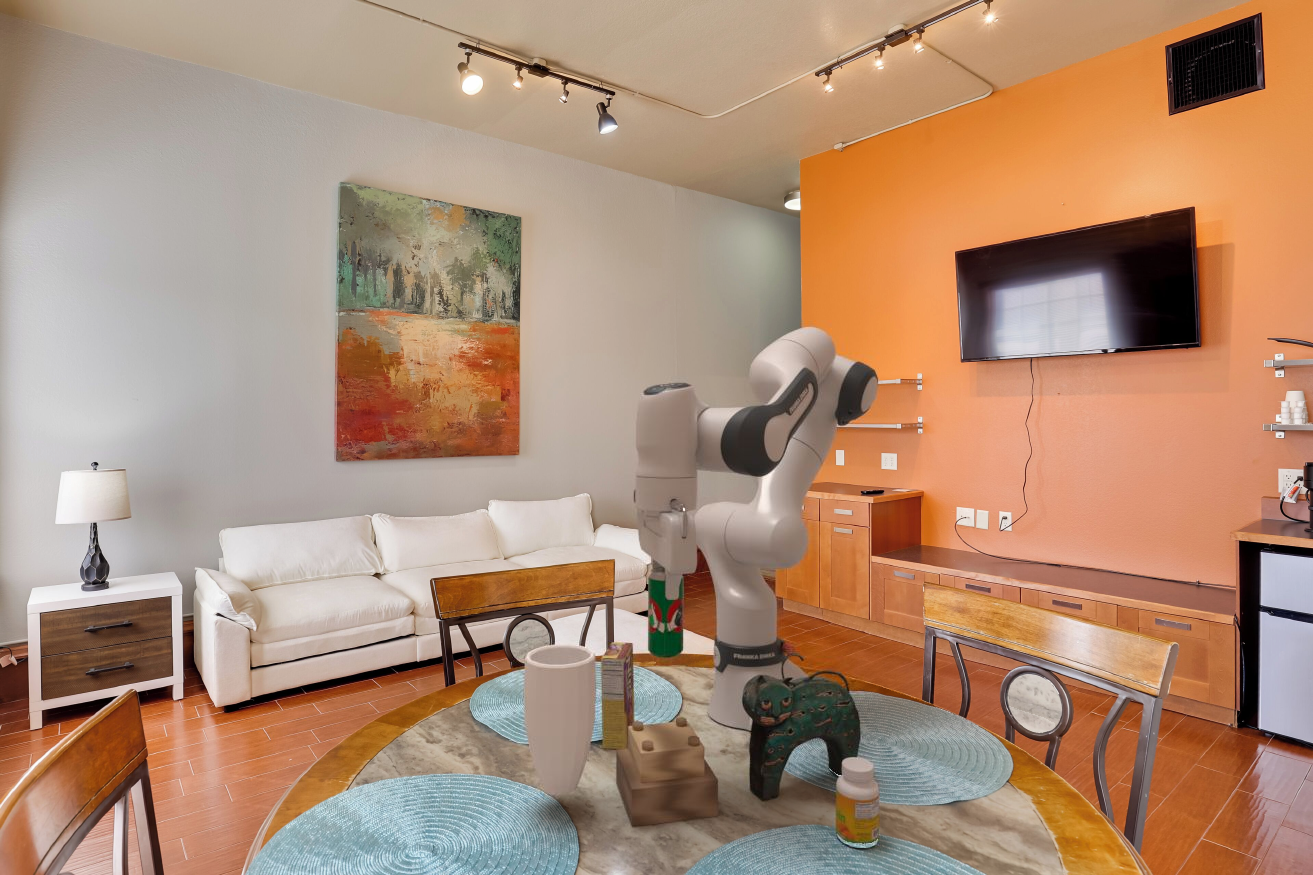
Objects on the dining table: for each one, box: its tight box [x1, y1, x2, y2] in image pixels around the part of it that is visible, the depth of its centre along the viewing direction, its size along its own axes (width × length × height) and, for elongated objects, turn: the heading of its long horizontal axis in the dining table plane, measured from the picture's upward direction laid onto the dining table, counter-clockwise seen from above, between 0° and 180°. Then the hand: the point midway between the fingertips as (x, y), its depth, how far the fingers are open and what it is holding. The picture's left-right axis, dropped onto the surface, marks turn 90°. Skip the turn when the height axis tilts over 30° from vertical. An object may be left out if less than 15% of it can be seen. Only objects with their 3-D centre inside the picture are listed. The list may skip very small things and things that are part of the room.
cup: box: [523, 643, 597, 796], centre depth 99 cm, size 10×10×22 cm
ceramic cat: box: [742, 652, 862, 802], centre depth 107 cm, size 20×6×20 cm, turn 115°
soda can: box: [647, 567, 685, 659], centre depth 102 cm, size 5×5×12 cm
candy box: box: [600, 641, 636, 750], centre depth 122 cm, size 9×4×15 cm, turn 172°
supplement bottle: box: [835, 756, 880, 844], centre depth 92 cm, size 5×5×10 cm
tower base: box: [615, 716, 719, 828], centre depth 102 cm, size 12×12×10 cm
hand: (665, 593), depth 102 cm, fingers closed on soda can, 5 cm apart
